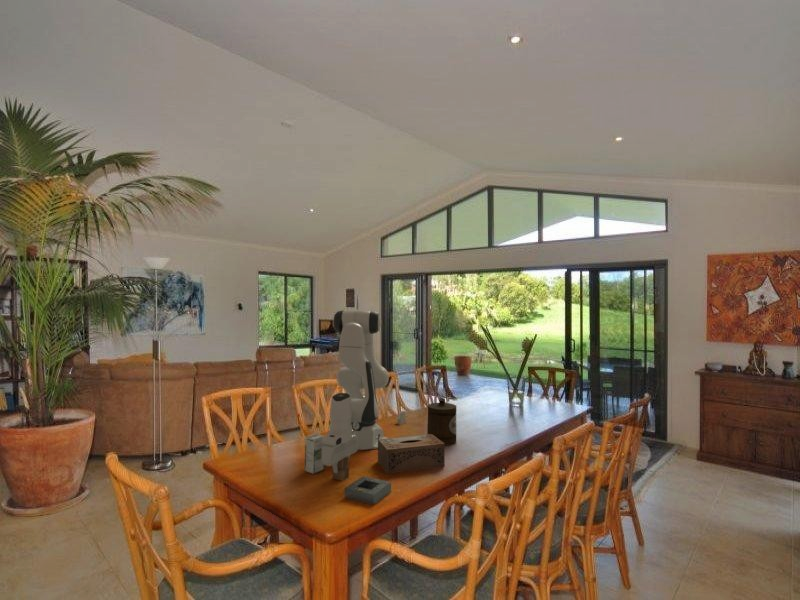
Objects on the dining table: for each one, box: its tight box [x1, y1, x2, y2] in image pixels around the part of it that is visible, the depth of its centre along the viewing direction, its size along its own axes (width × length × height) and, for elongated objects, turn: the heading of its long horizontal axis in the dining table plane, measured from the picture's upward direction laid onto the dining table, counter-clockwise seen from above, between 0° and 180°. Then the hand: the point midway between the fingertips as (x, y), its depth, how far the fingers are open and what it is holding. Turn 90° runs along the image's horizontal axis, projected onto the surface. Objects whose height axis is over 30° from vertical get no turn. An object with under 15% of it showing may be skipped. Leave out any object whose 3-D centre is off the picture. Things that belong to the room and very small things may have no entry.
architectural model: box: [395, 410, 407, 426], centre depth 254 cm, size 3×7×7 cm, turn 145°
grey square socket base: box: [344, 475, 392, 506], centre depth 157 cm, size 12×12×4 cm
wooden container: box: [426, 397, 457, 447], centre depth 220 cm, size 15×15×22 cm
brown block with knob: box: [332, 457, 350, 482], centre depth 172 cm, size 5×5×9 cm
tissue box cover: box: [377, 434, 446, 474], centre depth 188 cm, size 26×14×10 cm, turn 108°
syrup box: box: [304, 433, 325, 474], centre depth 180 cm, size 6×6×14 cm
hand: (340, 469), depth 172 cm, fingers closed on brown block with knob, 5 cm apart
